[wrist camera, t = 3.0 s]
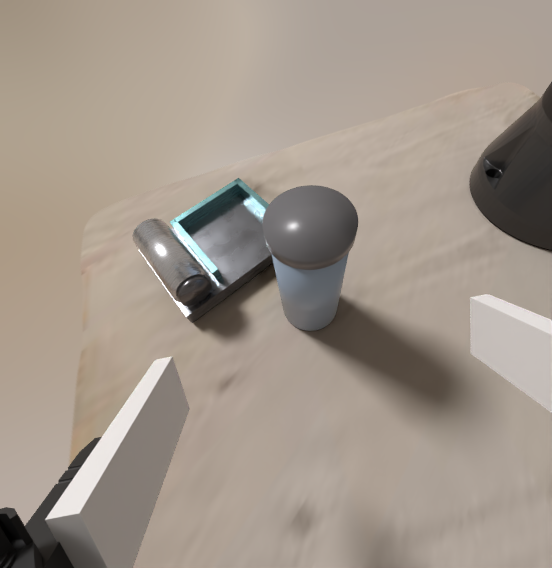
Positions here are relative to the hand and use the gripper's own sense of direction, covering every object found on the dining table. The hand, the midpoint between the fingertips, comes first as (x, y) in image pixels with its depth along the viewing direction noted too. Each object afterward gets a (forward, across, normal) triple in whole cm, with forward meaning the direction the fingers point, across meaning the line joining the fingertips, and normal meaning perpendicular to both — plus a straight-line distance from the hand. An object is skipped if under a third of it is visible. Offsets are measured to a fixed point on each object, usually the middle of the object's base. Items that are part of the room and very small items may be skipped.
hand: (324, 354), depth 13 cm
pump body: (+14, +1, -3) cm, 14 cm away
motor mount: (+20, -7, +3) cm, 21 cm away
